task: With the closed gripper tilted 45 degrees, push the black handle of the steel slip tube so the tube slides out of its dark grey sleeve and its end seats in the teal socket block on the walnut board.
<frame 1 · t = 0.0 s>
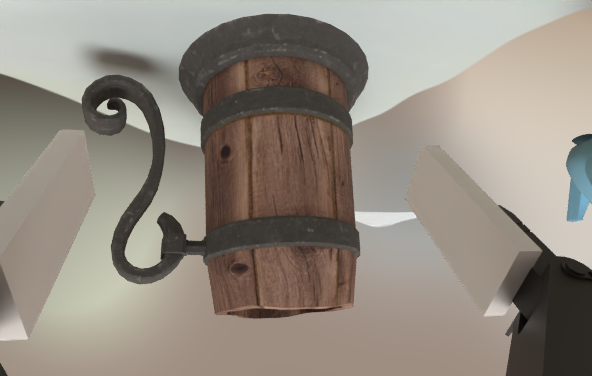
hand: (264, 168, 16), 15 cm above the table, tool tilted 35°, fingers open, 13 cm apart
tankard: (239, 76, 35), on the table
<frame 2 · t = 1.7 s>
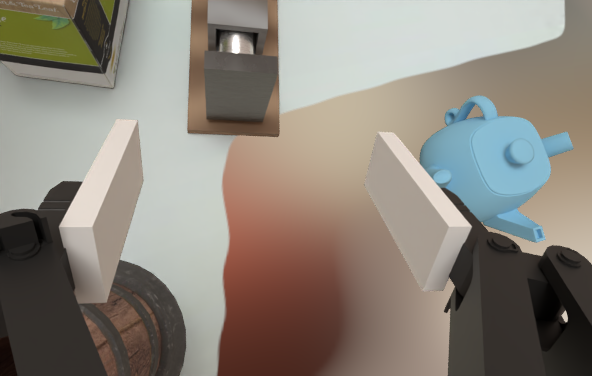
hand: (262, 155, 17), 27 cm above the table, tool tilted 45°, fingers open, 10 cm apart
tankard: (58, 363, 37), on the table
tea box: (78, 24, 44), on the table
teapot: (456, 182, 50), on the table
tube: (238, 21, 40), point 8 cm above the table, slide at 0.0 cm
tube stand: (234, 50, 47), on the table
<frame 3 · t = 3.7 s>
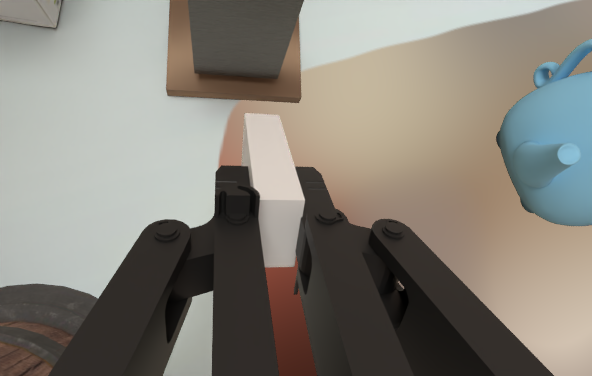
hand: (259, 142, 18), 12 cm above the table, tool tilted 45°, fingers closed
teapot: (545, 169, 36), on the table
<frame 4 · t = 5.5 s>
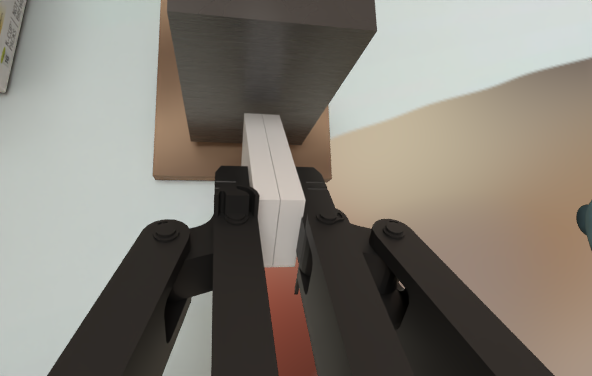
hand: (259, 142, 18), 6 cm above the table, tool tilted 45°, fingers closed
tube stand: (244, 21, 26), on the table
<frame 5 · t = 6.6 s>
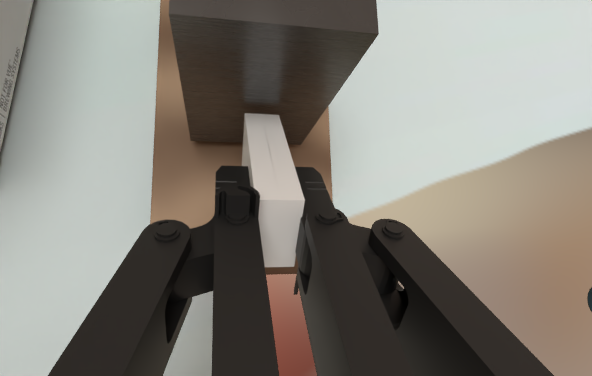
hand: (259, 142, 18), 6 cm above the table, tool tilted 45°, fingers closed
tube stand: (244, 99, 24), on the table
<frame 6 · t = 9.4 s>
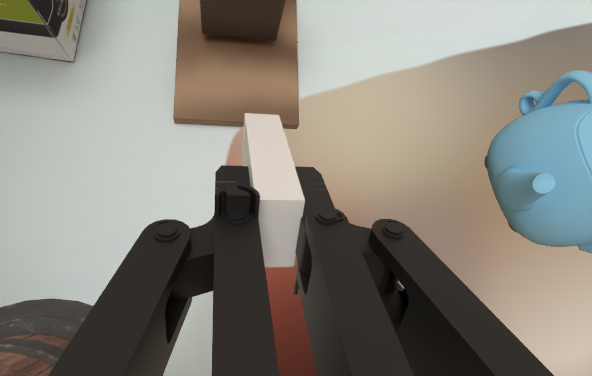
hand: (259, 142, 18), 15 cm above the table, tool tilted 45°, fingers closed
teapot: (531, 191, 37), on the table
tube stand: (238, 14, 35), on the table
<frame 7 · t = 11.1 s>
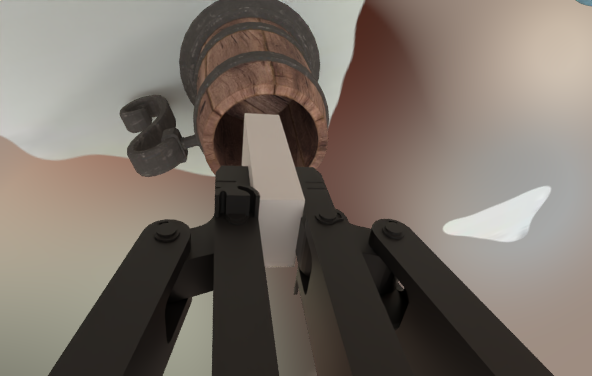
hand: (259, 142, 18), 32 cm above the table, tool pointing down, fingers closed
tankard: (225, 77, 49), on the table
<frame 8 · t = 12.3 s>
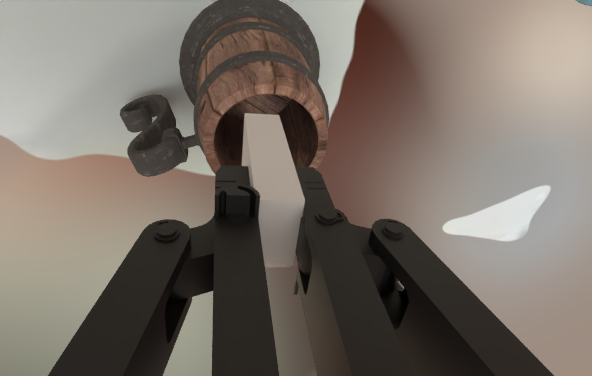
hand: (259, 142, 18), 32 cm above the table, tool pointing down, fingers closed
tankard: (225, 76, 49), on the table
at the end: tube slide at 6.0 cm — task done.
